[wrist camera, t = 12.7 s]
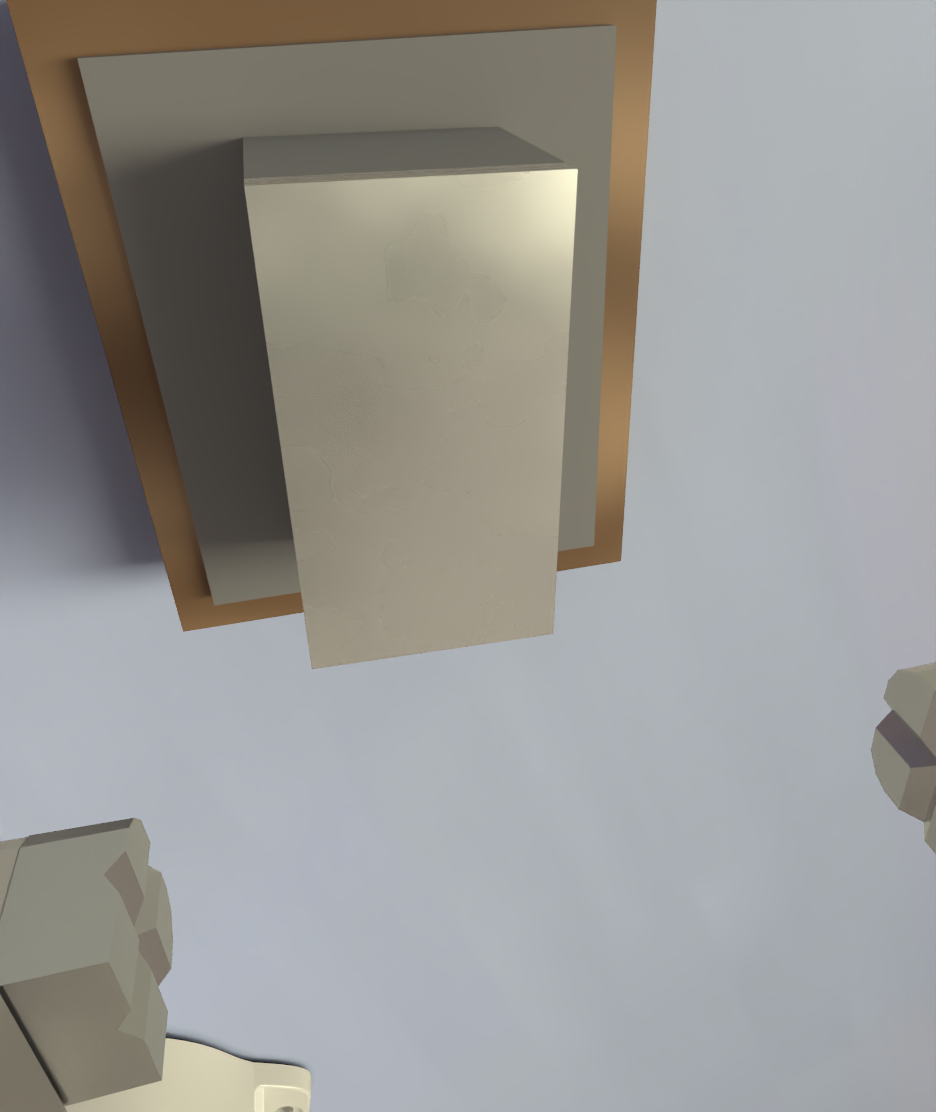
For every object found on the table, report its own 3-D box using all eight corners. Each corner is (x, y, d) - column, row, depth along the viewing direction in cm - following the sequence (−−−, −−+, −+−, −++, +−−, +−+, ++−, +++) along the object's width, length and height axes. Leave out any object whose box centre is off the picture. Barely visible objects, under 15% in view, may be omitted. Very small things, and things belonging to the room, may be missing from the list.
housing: (499, 126, 18) (577, 168, 13) (496, 515, 22) (553, 633, 18) (242, 137, 17) (244, 185, 13) (298, 539, 22) (312, 669, 17)
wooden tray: (581, 501, 28) (627, 570, 24) (189, 559, 26) (182, 643, 22) (598, -35, 20) (669, -40, 17) (41, -8, 18) (-3, -6, 15)
